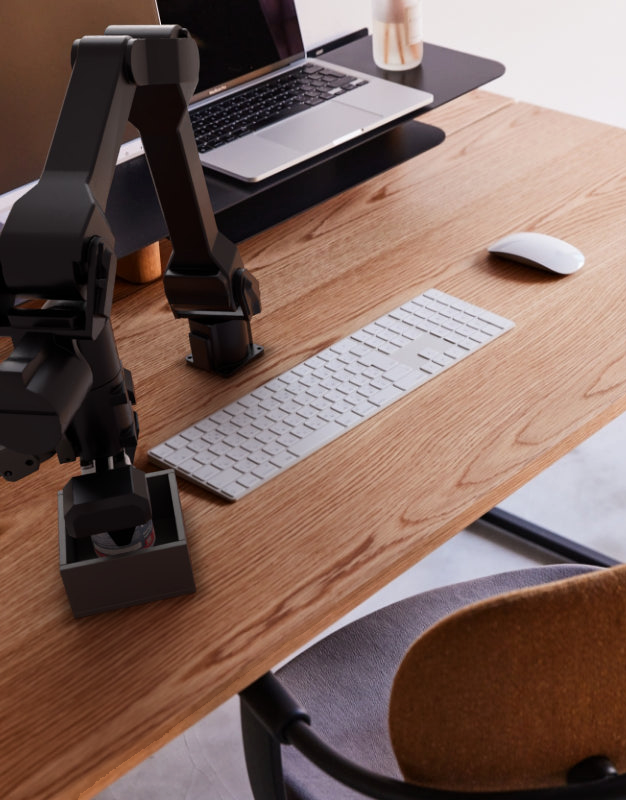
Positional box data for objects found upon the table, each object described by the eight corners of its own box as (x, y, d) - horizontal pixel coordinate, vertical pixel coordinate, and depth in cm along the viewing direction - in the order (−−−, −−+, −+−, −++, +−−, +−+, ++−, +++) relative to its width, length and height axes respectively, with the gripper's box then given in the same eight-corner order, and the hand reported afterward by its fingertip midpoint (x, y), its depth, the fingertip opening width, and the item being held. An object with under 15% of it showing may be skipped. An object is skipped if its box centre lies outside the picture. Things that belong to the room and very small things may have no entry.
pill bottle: (159, 557, 91) (141, 478, 85) (97, 572, 90) (75, 492, 84) (152, 517, 95) (134, 439, 90) (92, 531, 94) (70, 452, 88)
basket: (70, 538, 97) (57, 491, 93) (183, 514, 98) (173, 468, 95) (74, 619, 89) (59, 570, 85) (196, 592, 90) (186, 544, 87)
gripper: (-21, 328, 87) (25, 473, 97) (-32, 467, 73) (24, 623, 82) (116, 304, 89) (148, 449, 99) (133, 435, 75) (169, 591, 84)
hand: (121, 522), depth 91 cm, fingers closed on pill bottle, 5 cm apart
